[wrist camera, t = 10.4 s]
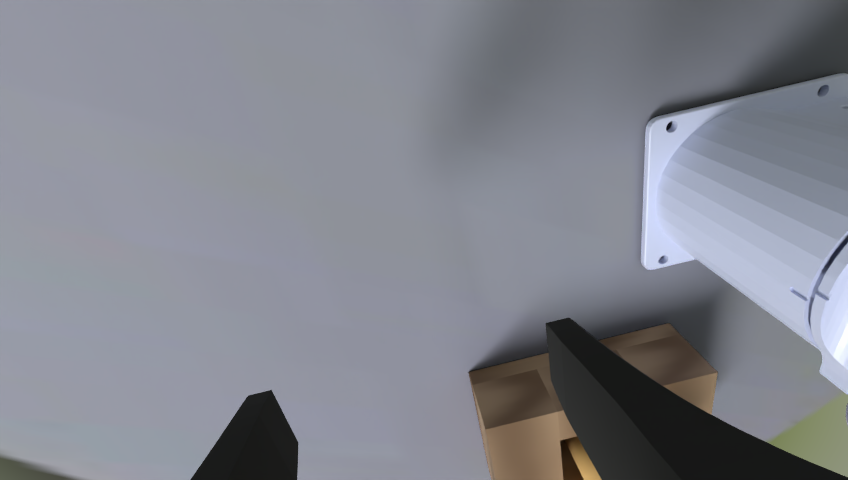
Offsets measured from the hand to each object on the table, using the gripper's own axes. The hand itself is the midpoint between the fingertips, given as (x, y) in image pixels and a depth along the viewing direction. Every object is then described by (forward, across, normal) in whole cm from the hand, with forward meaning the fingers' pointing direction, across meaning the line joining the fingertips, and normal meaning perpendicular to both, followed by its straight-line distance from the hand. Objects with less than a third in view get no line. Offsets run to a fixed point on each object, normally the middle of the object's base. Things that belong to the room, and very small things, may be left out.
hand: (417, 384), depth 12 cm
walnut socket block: (+10, -8, +15) cm, 20 cm away
